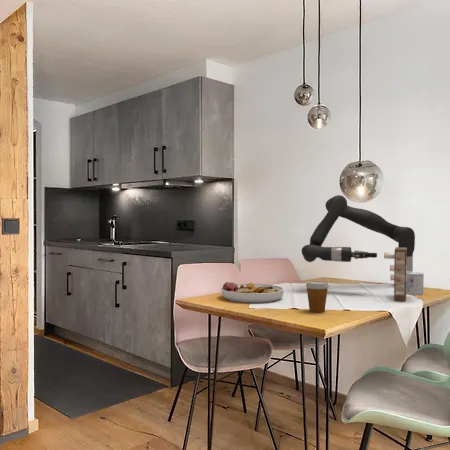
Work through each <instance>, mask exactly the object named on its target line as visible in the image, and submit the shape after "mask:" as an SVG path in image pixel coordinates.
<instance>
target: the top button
mask: <svg viewBox="0 0 450 450" xmlns="http://www.w3.org/2000/svg"><path fill="white" fill-rule="evenodd" d="M383 258H384V259H388V260H389V259H391V260H394V258H395V252H384V253H383Z"/></svg>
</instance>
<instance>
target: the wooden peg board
mask: <svg viewBox="0 0 450 450" xmlns="http://www.w3.org/2000/svg"><path fill="white" fill-rule="evenodd" d="M394 253H395V258H394V259H393V261H394V263H393V265H394V271H393V274H394V281H393V285H394V286H393V301H394V302H404V303H405V302H406V300H407V294H406V272H407V270H406V265H407V248H405V247H398V246H397V247H395V248H394Z"/></svg>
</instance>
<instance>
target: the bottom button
mask: <svg viewBox="0 0 450 450" xmlns="http://www.w3.org/2000/svg"><path fill="white" fill-rule="evenodd" d="M389 276H390V277H389V279H390V281H393V282H394V273H392V274H390V275H389ZM406 281H407V275H406Z"/></svg>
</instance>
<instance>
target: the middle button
mask: <svg viewBox="0 0 450 450" xmlns="http://www.w3.org/2000/svg"><path fill="white" fill-rule="evenodd" d="M406 270H407V265H406ZM389 272H394V264H389Z"/></svg>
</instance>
